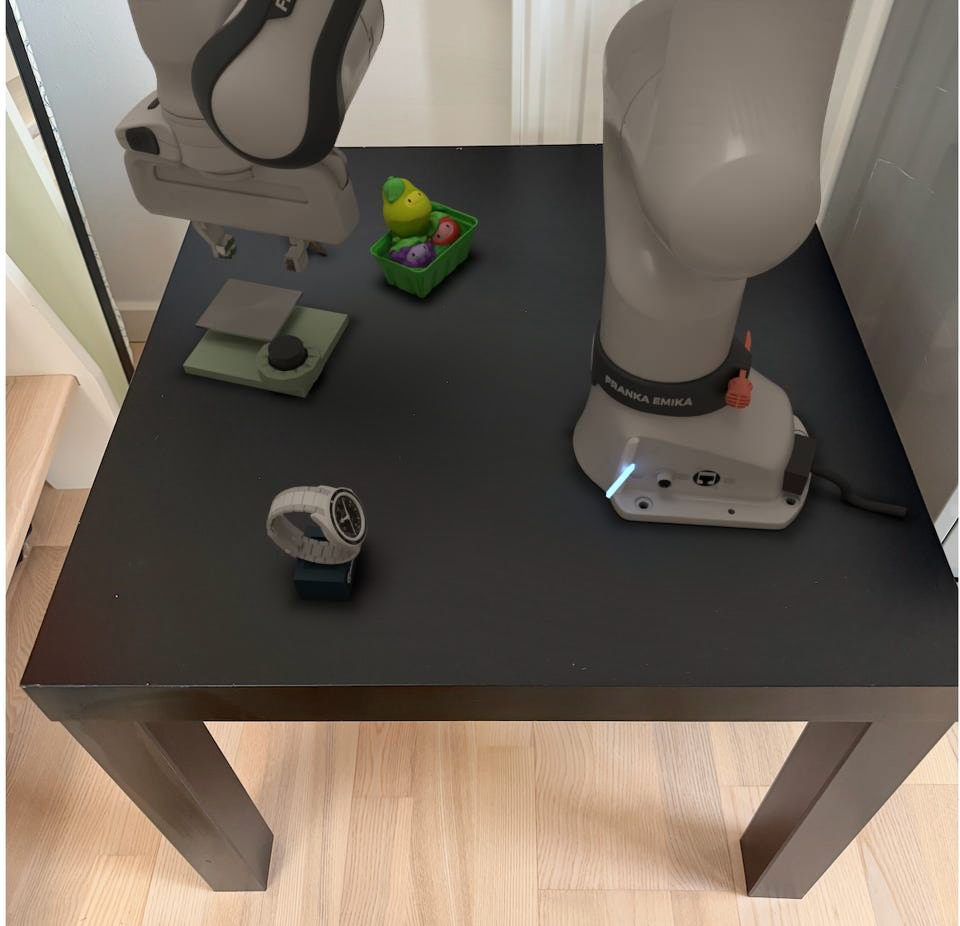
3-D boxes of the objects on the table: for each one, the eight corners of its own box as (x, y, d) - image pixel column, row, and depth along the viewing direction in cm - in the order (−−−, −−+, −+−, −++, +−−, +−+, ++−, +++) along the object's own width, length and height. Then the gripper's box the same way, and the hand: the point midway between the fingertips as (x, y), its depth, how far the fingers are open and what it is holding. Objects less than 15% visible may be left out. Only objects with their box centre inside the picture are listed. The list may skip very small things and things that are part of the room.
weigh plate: (303, 294, 100) (302, 291, 99) (272, 342, 95) (271, 339, 95) (230, 280, 102) (229, 278, 101) (195, 327, 97) (194, 324, 97)
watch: (371, 602, 78) (353, 528, 70) (279, 597, 79) (251, 523, 70) (381, 548, 82) (365, 472, 73) (293, 544, 82) (267, 467, 74)
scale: (355, 323, 101) (351, 303, 99) (309, 404, 93) (303, 384, 91) (236, 301, 104) (230, 280, 102) (182, 378, 96) (174, 357, 94)
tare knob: (311, 350, 95) (308, 338, 93) (297, 374, 92) (294, 362, 91) (280, 344, 95) (276, 332, 94) (265, 367, 93) (261, 355, 92)
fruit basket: (424, 309, 102) (415, 225, 93) (364, 282, 105) (350, 198, 97) (482, 255, 108) (479, 172, 99) (423, 231, 111) (415, 148, 102)
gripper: (358, 120, 73) (378, 258, 84) (136, 89, 77) (182, 225, 88) (327, 163, 69) (352, 302, 80) (96, 128, 74) (149, 265, 84)
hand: (262, 261), depth 84 cm, fingers open, 6 cm apart
